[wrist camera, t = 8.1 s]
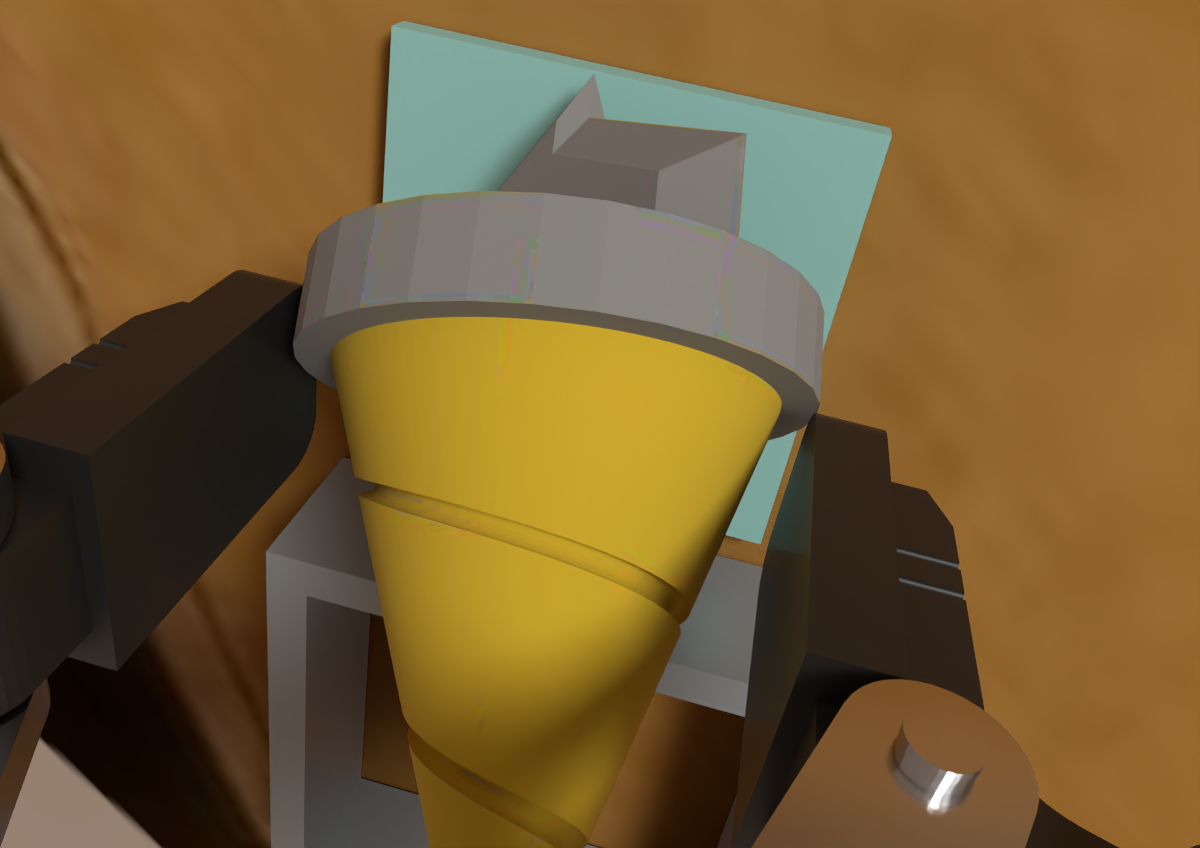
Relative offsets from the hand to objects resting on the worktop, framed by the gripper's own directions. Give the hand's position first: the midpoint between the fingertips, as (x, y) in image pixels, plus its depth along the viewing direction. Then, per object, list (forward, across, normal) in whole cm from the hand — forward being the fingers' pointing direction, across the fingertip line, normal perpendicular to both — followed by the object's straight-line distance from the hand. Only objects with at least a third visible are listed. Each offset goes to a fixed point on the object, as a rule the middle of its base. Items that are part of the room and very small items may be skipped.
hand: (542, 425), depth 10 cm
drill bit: (+3, -1, 0) cm, 3 cm away
